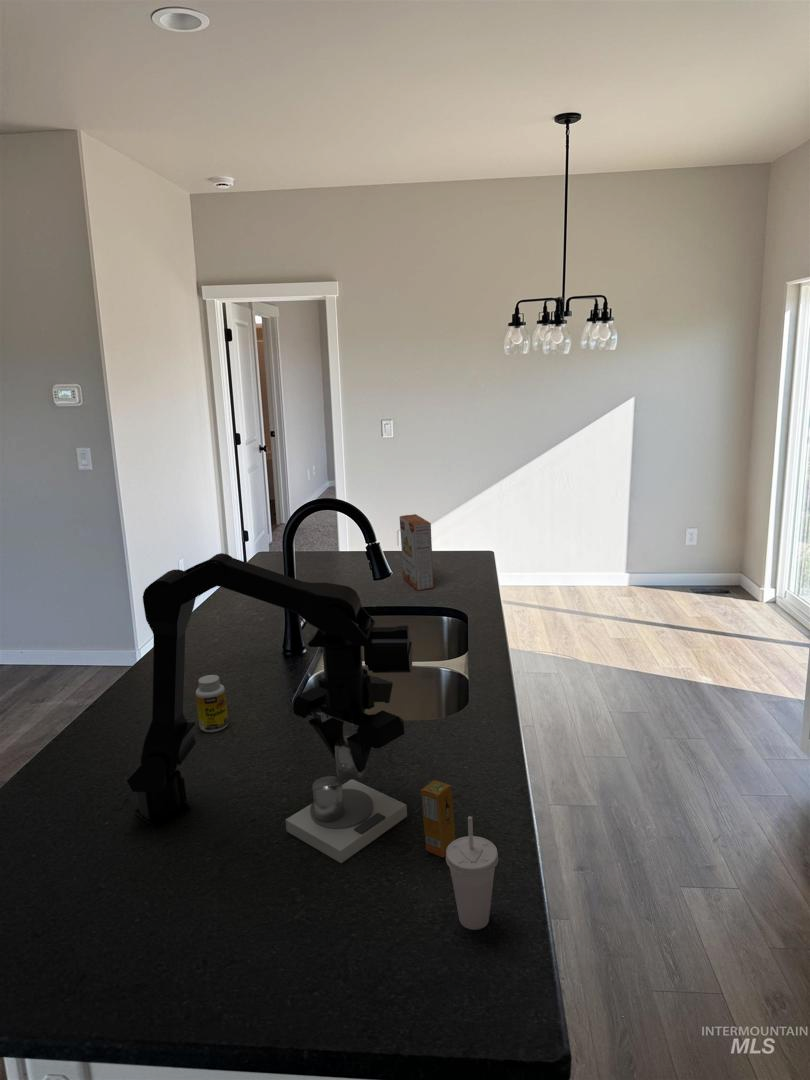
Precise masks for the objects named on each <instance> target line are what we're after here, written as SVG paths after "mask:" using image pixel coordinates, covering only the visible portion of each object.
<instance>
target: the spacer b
mask: <svg viewBox="0 0 810 1080" xmlns="http://www.w3.org/2000/svg"><path fill="white" fill-rule="evenodd" d="M352 735H353V734H352ZM352 735H343V737H340V738H338V739H337V740H336V741H335V743H334V745H335V758H336V760H335V770H336V777H338V778H339V779H341V780H346V781H349V780H357V779H359V778H361V777H363V776H364V774H365V773H366V768H365V769H364V770H363V771H362V772H358V771H357V768H356V766H355V763H354V760H353V757H352V754H351V751H350V748H349V745H348V742H347V738H348V737H350V736H352Z"/></svg>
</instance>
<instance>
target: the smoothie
mask: <svg viewBox="0 0 810 1080" xmlns="http://www.w3.org/2000/svg"><path fill="white" fill-rule="evenodd" d="M473 824H474V823H473V816H470V815H469V816H468V817H467V829H468V831H467V832H468V836H462V837H459V838H455V840H454V841H453V842H451V843H450V844H449V846H448V847H447V850H446V856H445V861H446V864H447V866H448V867H449V870H450V875H451V881H452V887H453V892H454V897H455V903H456V908H457V913H458V919H459V923H460V924H461V925H462V927H464V928H465V929H468V930H471V931H473V930H474V931H475V930H476V931H477V930H481V929H483V928H485V927H486V926H487V925H488V924H489V922H490V921H489V920H490V915H491V914H490V912H491V903H492V895H493V888H494V887H493V886H494V876H495V868H496V866H497V865H498V863H499V855H498V849H497V847H496V845H495V844H494V843H493V842H492V841H491V840H488V839H487V838H484V837H482V836H475V835H474V832H473V831H474V829H473V827H474V825H473Z"/></svg>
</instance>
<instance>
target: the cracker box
mask: <svg viewBox="0 0 810 1080" xmlns="http://www.w3.org/2000/svg"><path fill="white" fill-rule="evenodd" d="M399 530H400V545H401V558H402V577H403V580H405V582H407V583H408V584H409V585H410V586H411V587H413V588H414V589H415V590H416V591H417V590H419V591H423V590H430V589H434V588H435V584H434V583H435V581H434V566H433V565H434V563H433V545H432V543H433V542H432V541H433V540H432V524H431V522H429V521H428V520H427V519H424V518H422V516H419V515H418V514H415V513H414V514H406V515H400V516H399Z"/></svg>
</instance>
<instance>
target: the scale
mask: <svg viewBox="0 0 810 1080" xmlns="http://www.w3.org/2000/svg"><path fill="white" fill-rule="evenodd" d="M342 789H343V801H344V816H343V817H342V818H341V819H339V820H337V821H334V822H329V823H325V822H321V821H318V820H317V819H316V817H315V808H314V801H313V802H312V803H310V804H309V805H307V806H306V807H304V808H302V809H301V810H299V811H297V812H295V813H294V814H292V815H290V816H289V817H287V818H286V819H285V831H286V832H287V833H289V834H290V835H292V836H294V837H295V838H297V839H298V840H300V841H302V842H304V843H306V844H307V845H310V846H311V847H313V849H316V850H318V851H319V852H321V853H323V854H324V855H326V856H328V857H329V858H331V859H333V860H334V861H336V862H338V863H340V864H343V863H345V861H347V860H348V859H350V858H351V857H353V856H354V855H355V854H357V852H359V851H361V850H362V849H364V848H365V847H366V846H367V845H370V843H372V842H374V841H375V840H376V839H377V838H379V837H380V836H382V835H383V834H385V832H387V831H389V830H390V829H392V828H393V827H394V826H396V825H397V824H399V822H401V821H403V820H405V818H407V817H408V809H407V807H408V806H407V804H405V803H403V802H402V801H399V800H397V799H395V798H393V797H391V796H390V795H387V794H385V793H383V792H381V791H378V790H377V789H374V788H372V787H370V786H367V785H366V784H364V783H361V782H359V781H357V780H356V779H353V780H347V782H345V783H342Z"/></svg>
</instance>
